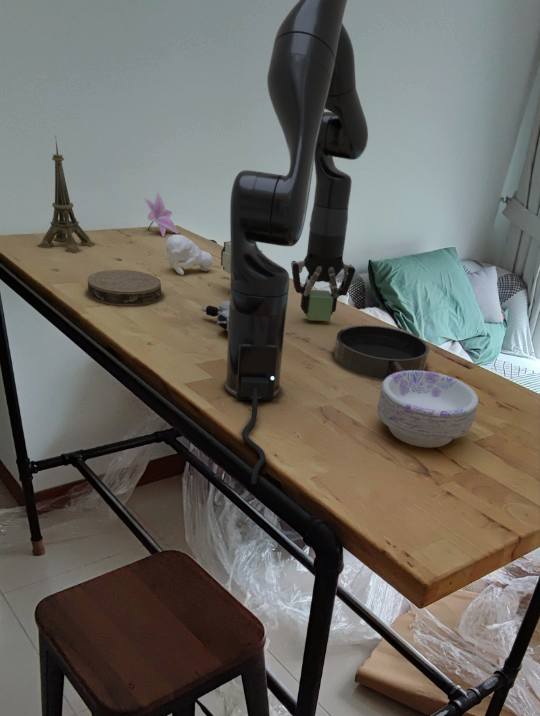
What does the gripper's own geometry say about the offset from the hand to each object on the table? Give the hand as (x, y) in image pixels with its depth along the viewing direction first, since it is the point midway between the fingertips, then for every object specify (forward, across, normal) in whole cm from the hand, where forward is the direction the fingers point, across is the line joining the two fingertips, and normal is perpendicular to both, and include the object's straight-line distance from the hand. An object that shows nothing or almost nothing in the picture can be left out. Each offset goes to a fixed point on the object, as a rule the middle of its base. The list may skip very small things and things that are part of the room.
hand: (317, 312), depth 142 cm
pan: (+2, +9, -21) cm, 23 cm away
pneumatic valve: (+2, -16, +16) cm, 23 cm away
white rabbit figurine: (+2, -27, +33) cm, 43 cm away
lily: (+2, -35, +71) cm, 79 cm away
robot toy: (+2, -18, -6) cm, 19 cm away
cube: (+1, 0, 0) cm, 1 cm away
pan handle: (0, +9, -34) cm, 36 cm away
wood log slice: (+2, -42, +12) cm, 44 cm away
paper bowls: (+2, +8, -51) cm, 52 cm away
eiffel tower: (+2, -59, +50) cm, 77 cm away
